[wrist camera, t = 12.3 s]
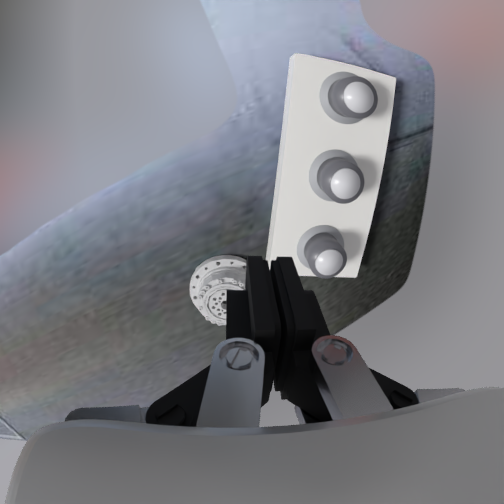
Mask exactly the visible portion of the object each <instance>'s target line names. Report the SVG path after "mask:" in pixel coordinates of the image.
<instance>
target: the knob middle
mask: <svg viewBox="0 0 504 504" xmlns="http://www.w3.org/2000/svg"><path fill="white" fill-rule="evenodd" d="M317 183H318V185H319V187H320V189H321V190H322V191H323V192H324V193H325V194H326V195H327V196H328V197H329V198H331V199H332V200H333V201H335V202H337V203H340V204H347V203H350V202H352V201H354V200H356V199H357V198H358V197H359V196H360V194H361V193H362V191H363V188H364V176H363V173H362V171H361V170H360V168H359V167H357V166H356V165H355V164H353V163H351V162H349V161H347V160H345V159H343V158H339V157H333V158H329V159H327V160H325V161H324V162H323V163H322V164H321V165H320V167H319V169H318V171H317Z"/></svg>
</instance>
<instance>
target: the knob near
mask: <svg viewBox="0 0 504 504" xmlns="http://www.w3.org/2000/svg"><path fill="white" fill-rule="evenodd" d="M328 101H329V104H330V106H331V108H332V109H333V110H334V111H335V112H336V113H337V114H339V115H341V116H343V117H350V118H357V119H362V118H366V117H368V116H370V115H371V114H372V113H373V112H374V111H375V109H376V107H377V103H378V96H377V92H376V90H375V88H374V86H373V85H372V84H371V83H370V82H369V81H368V80H367V79H365V78H363V77H359V76H352V77H347V78H342V79H339V80H336V81H335V82H334V83H333V84H332V85H331V86H330V88H329V91H328Z"/></svg>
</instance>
